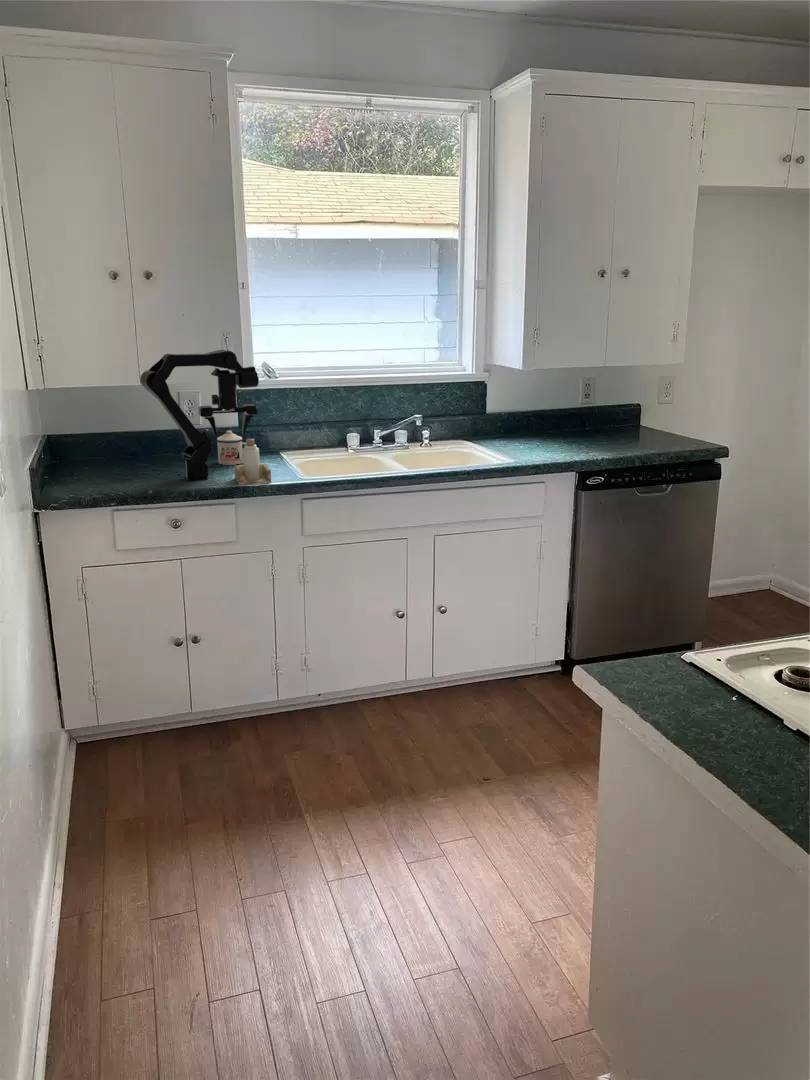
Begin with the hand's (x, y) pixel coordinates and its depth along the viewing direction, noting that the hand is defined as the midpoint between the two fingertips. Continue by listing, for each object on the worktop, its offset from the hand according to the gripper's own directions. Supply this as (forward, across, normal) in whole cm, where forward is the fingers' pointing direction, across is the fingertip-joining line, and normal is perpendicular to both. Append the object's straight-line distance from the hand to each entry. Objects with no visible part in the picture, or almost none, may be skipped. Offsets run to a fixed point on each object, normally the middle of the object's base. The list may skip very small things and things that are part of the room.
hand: (229, 435), depth 279 cm
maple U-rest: (+13, -5, +12) cm, 19 cm away
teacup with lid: (+13, -4, -17) cm, 22 cm away
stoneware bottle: (+12, -5, +13) cm, 18 cm away
